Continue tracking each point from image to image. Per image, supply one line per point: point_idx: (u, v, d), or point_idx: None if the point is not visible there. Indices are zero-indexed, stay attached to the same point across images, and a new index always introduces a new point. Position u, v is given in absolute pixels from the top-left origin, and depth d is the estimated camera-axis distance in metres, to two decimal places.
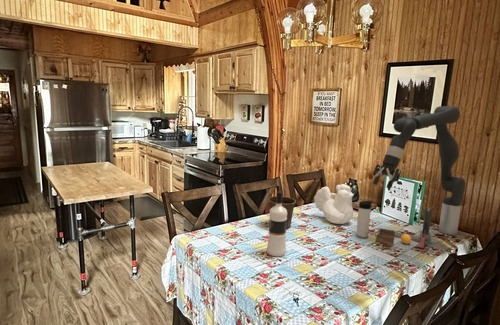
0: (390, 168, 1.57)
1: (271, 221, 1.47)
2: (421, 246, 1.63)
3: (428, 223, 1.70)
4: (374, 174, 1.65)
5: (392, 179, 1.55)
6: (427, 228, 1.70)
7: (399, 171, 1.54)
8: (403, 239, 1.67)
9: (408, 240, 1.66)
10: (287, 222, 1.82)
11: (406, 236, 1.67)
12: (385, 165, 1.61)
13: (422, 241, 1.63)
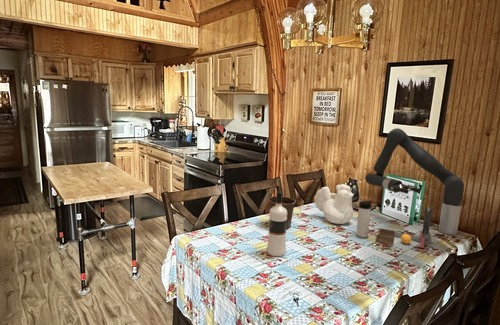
0: None
1: (271, 221, 1.47)
2: (421, 246, 1.63)
3: (428, 223, 1.70)
4: None
5: (399, 191, 1.82)
6: (427, 228, 1.70)
7: (391, 187, 1.86)
8: (403, 239, 1.67)
9: (408, 240, 1.66)
10: (287, 222, 1.82)
11: (406, 236, 1.67)
12: None
13: (422, 241, 1.63)
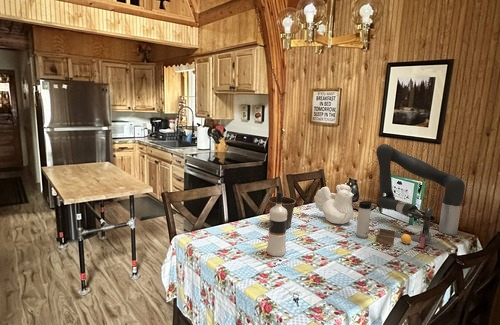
0: None
1: (271, 221, 1.47)
2: (421, 246, 1.63)
3: (428, 223, 1.70)
4: None
5: (420, 218, 1.71)
6: (427, 228, 1.70)
7: (409, 214, 1.74)
8: (403, 239, 1.67)
9: (408, 240, 1.66)
10: (287, 222, 1.82)
11: (406, 236, 1.67)
12: None
13: (422, 241, 1.63)
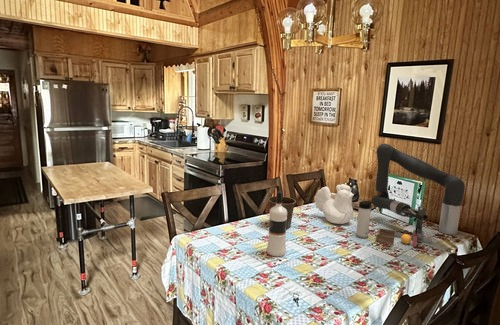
0: None
1: (271, 221, 1.47)
2: (414, 245, 1.65)
3: (421, 222, 1.71)
4: None
5: (413, 216, 1.73)
6: (420, 227, 1.72)
7: (402, 213, 1.76)
8: (403, 239, 1.67)
9: (408, 240, 1.66)
10: (287, 222, 1.82)
11: (406, 236, 1.67)
12: None
13: (414, 240, 1.64)
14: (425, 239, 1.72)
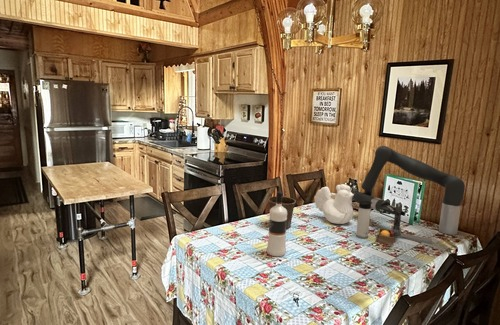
0: None
1: (271, 221, 1.47)
2: None
3: (398, 218, 1.76)
4: None
5: None
6: (397, 223, 1.77)
7: (381, 210, 1.81)
8: (387, 235, 1.71)
9: None
10: (287, 222, 1.82)
11: None
12: None
13: (391, 235, 1.69)
14: (425, 239, 1.72)
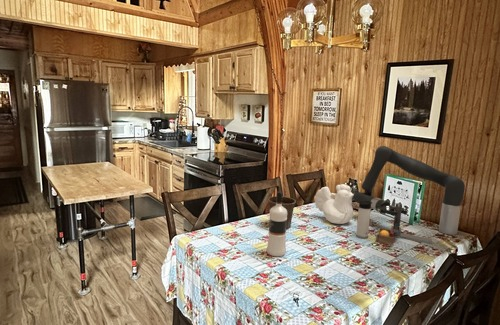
0: None
1: (271, 221, 1.47)
2: None
3: (398, 218, 1.76)
4: None
5: (386, 213, 1.78)
6: (397, 223, 1.77)
7: (378, 209, 1.82)
8: (385, 234, 1.71)
9: None
10: (287, 222, 1.82)
11: None
12: None
13: (391, 235, 1.69)
14: (425, 239, 1.72)
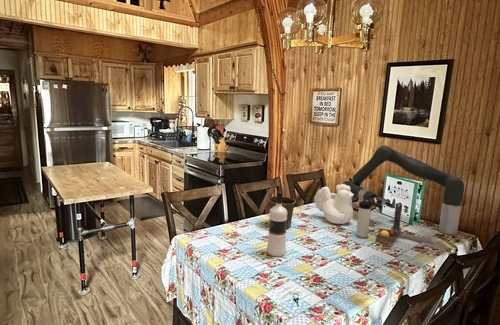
0: None
1: (271, 221, 1.47)
2: None
3: (398, 218, 1.76)
4: None
5: (374, 205, 1.88)
6: (397, 223, 1.77)
7: (366, 200, 1.92)
8: (386, 234, 1.71)
9: None
10: (287, 222, 1.82)
11: None
12: None
13: (391, 235, 1.69)
14: (425, 239, 1.72)
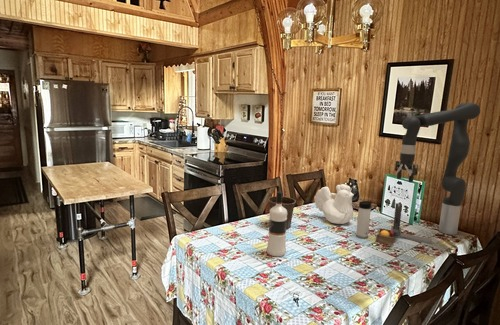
0: (407, 164, 1.80)
1: (271, 221, 1.47)
2: None
3: (398, 218, 1.76)
4: (396, 170, 1.88)
5: (411, 174, 1.78)
6: (397, 223, 1.77)
7: (416, 166, 1.76)
8: (386, 235, 1.71)
9: None
10: (287, 222, 1.82)
11: None
12: (403, 161, 1.83)
13: (391, 235, 1.69)
14: (425, 239, 1.72)
